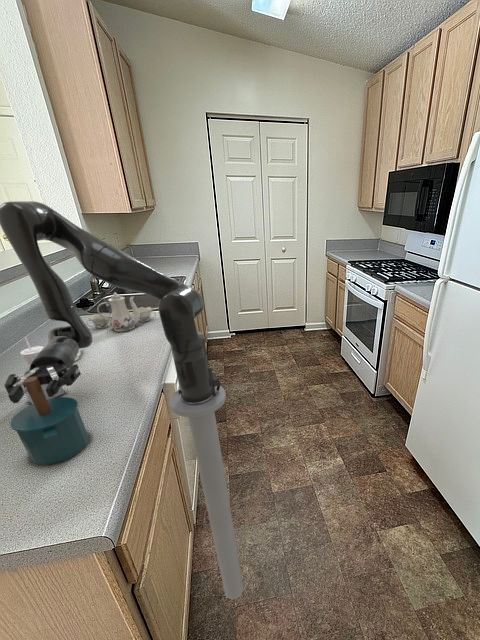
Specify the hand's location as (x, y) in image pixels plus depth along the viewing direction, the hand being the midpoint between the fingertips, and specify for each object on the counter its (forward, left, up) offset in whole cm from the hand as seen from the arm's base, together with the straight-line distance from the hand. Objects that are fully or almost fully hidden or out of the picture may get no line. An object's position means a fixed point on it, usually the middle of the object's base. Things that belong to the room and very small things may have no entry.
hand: (31, 396), depth 69 cm
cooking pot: (-1, -2, -16) cm, 16 cm away
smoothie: (0, -46, -16) cm, 49 cm away
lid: (-1, -2, -6) cm, 7 cm away
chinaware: (-32, -79, -16) cm, 87 cm away
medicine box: (0, -30, -16) cm, 34 cm away
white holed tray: (-6, -58, -16) cm, 61 cm away
